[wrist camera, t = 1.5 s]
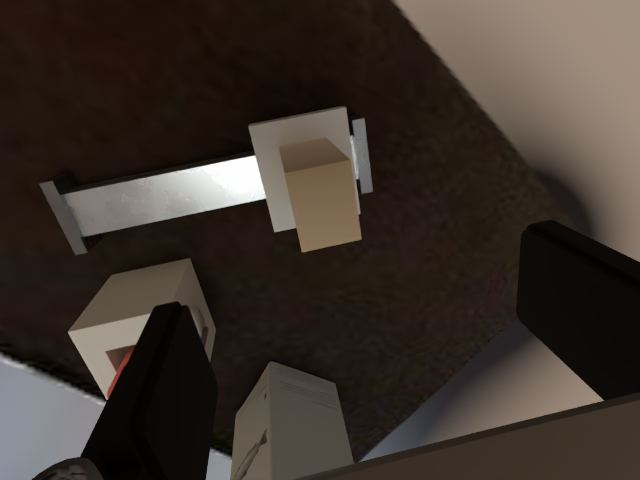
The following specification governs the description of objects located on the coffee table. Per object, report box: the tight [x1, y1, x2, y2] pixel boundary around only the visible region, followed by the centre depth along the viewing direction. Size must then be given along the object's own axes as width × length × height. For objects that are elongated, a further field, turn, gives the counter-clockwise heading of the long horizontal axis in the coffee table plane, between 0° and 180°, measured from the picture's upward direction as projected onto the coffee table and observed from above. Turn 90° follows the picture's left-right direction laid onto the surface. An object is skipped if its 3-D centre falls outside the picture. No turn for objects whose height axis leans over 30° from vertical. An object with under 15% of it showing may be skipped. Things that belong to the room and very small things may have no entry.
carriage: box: [248, 106, 361, 252], centre depth 22 cm, size 7×6×10 cm
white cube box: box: [68, 258, 216, 400], centre depth 27 cm, size 7×7×7 cm
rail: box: [39, 115, 373, 255], centre depth 25 cm, size 5×21×2 cm, turn 100°
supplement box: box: [230, 361, 354, 480], centre depth 30 cm, size 7×7×13 cm
